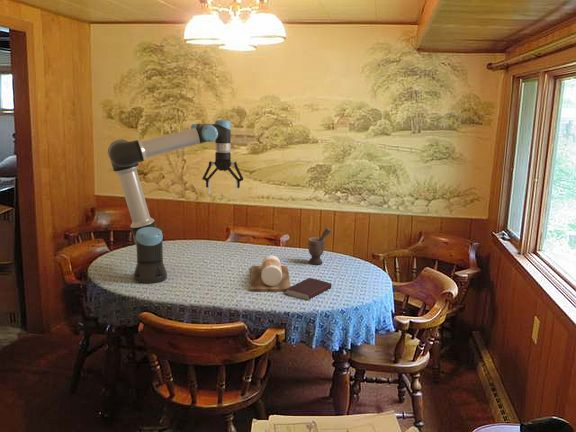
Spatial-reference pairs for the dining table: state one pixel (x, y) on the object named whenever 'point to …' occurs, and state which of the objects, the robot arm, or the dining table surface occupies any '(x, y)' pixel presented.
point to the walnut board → (260, 286)
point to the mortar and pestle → (317, 247)
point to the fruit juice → (271, 270)
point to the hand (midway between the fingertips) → (222, 194)
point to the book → (308, 288)
